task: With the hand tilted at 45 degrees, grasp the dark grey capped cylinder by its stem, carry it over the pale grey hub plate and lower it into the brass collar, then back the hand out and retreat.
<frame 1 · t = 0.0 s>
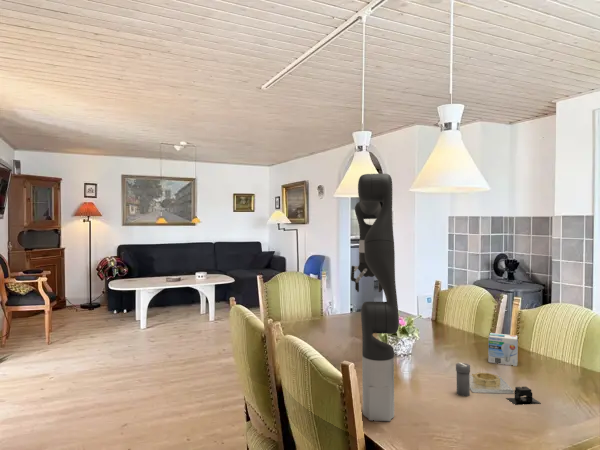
hand: (368, 291, 171), 29 cm above the table, tool pointing down, fingers open, 8 cm apart
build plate: (523, 403, 136), on the table
dark grey capped cylinder: (463, 393, 142), on the table
hub plate: (486, 385, 148), on the table
light bulb box: (503, 362, 174), on the table
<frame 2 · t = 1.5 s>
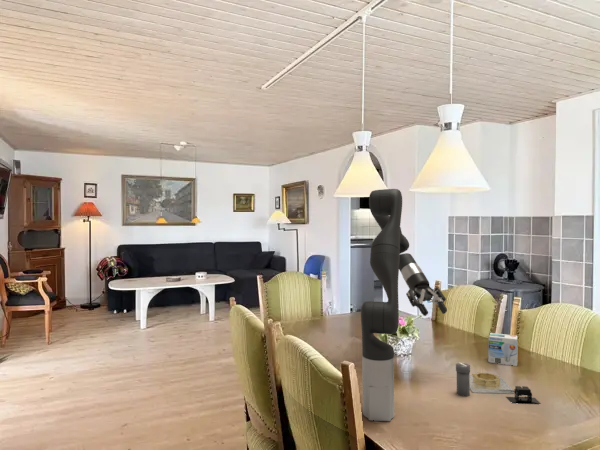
hand: (435, 313, 153), 24 cm above the table, tool tilted 45°, fingers open, 8 cm apart
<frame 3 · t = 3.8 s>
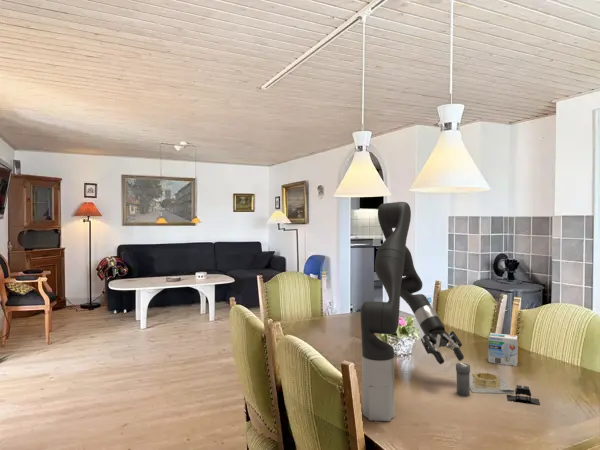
hand: (452, 361, 146), 9 cm above the table, tool tilted 45°, fingers open, 8 cm apart
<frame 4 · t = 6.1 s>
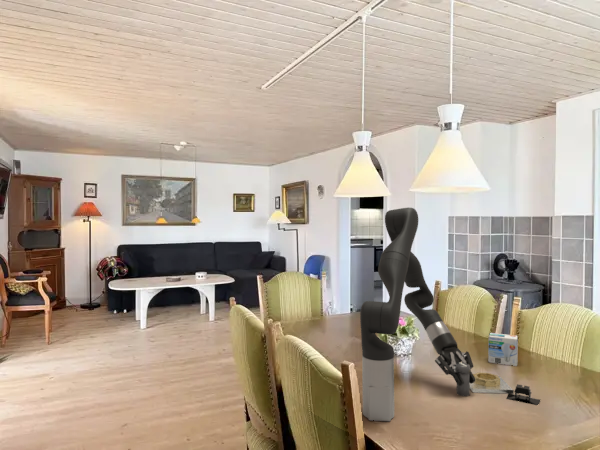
hand: (467, 383, 140), 4 cm above the table, tool tilted 45°, fingers closed on dark grey capped cylinder, 4 cm apart
dark grey capped cylinder: (463, 393, 142), on the table, touching gripper
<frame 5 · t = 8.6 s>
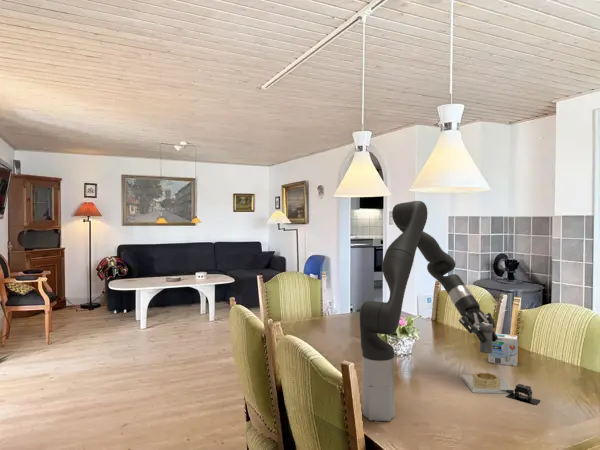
hand: (490, 341, 147), 16 cm above the table, tool tilted 45°, fingers closed on dark grey capped cylinder, 4 cm apart
dark grey capped cylinder: (486, 351, 149), point 12 cm above the table, touching gripper
when the fingers open (6 cm above the table, at t = 11.2 s): dark grey capped cylinder stays where it is, resting on hub plate.
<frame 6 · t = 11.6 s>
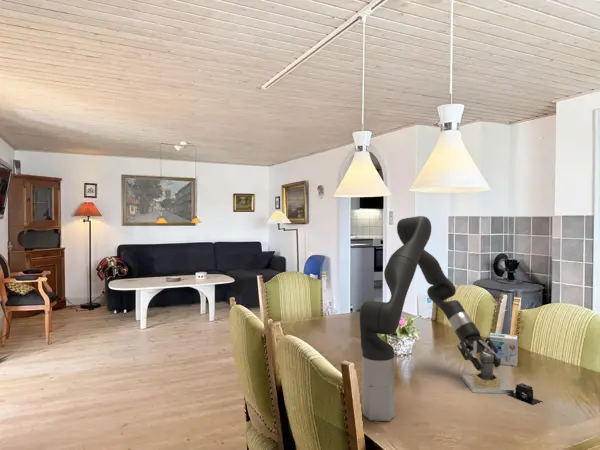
hand: (489, 367, 147), 7 cm above the table, tool tilted 45°, fingers open, 8 cm apart
dark grey capped cylinder: (486, 382, 149), point 1 cm above the table, touching hub plate
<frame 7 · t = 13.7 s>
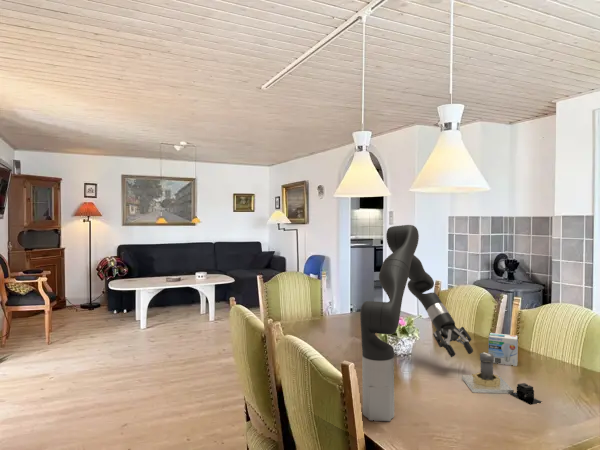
hand: (462, 354, 158), 8 cm above the table, tool tilted 45°, fingers open, 8 cm apart
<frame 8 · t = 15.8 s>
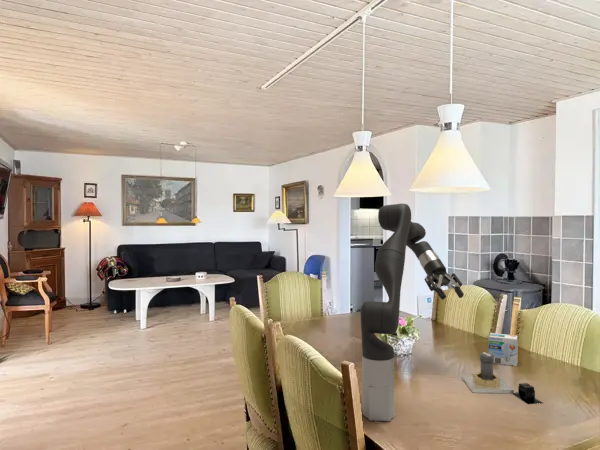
hand: (453, 297, 160), 29 cm above the table, tool tilted 45°, fingers open, 8 cm apart
at the end: dark grey capped cylinder 0.2 cm from the hub plate (horizontally); dark grey capped cylinder point 1.2 cm above the table; dark grey capped cylinder tilted 1° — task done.
